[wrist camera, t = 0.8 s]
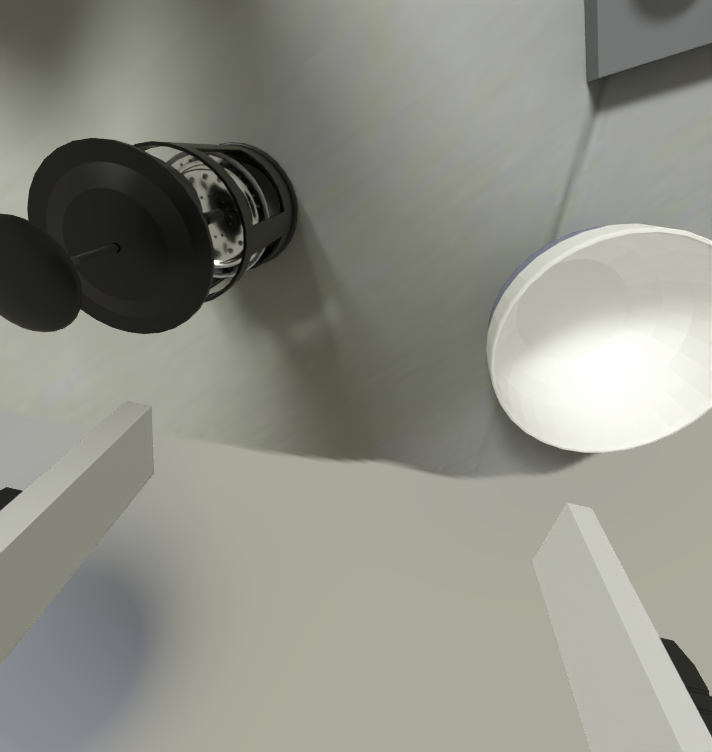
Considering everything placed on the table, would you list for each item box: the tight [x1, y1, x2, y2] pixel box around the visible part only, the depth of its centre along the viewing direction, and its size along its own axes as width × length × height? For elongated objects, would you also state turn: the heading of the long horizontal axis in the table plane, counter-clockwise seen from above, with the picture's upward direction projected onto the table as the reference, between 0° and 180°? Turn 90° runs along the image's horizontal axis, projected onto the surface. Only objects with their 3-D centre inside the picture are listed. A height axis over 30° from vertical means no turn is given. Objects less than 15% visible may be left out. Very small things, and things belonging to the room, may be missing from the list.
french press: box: [0, 138, 297, 334], centre depth 25 cm, size 12×9×23 cm
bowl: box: [486, 224, 712, 453], centre depth 32 cm, size 16×16×10 cm
